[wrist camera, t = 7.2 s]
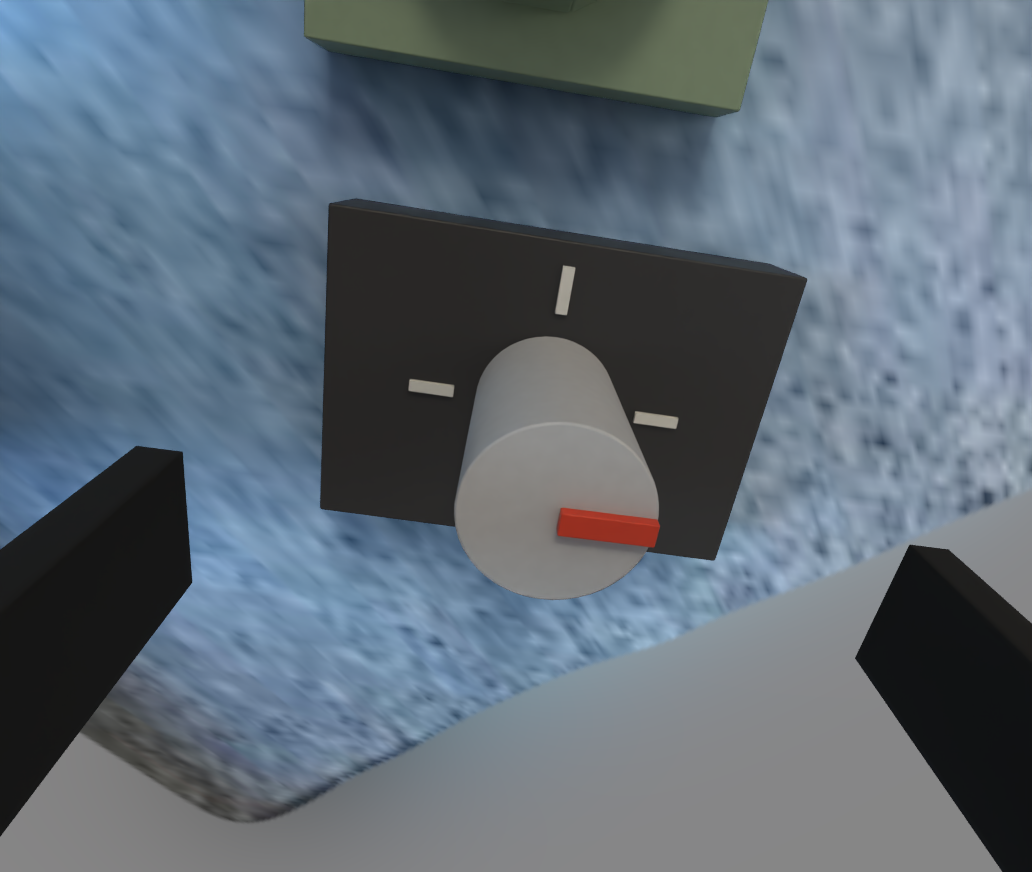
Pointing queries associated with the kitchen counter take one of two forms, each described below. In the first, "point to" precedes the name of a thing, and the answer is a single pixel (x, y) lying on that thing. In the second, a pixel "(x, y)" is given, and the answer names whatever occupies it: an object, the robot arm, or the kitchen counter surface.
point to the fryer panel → (527, 314)
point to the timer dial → (553, 475)
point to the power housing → (562, 44)
